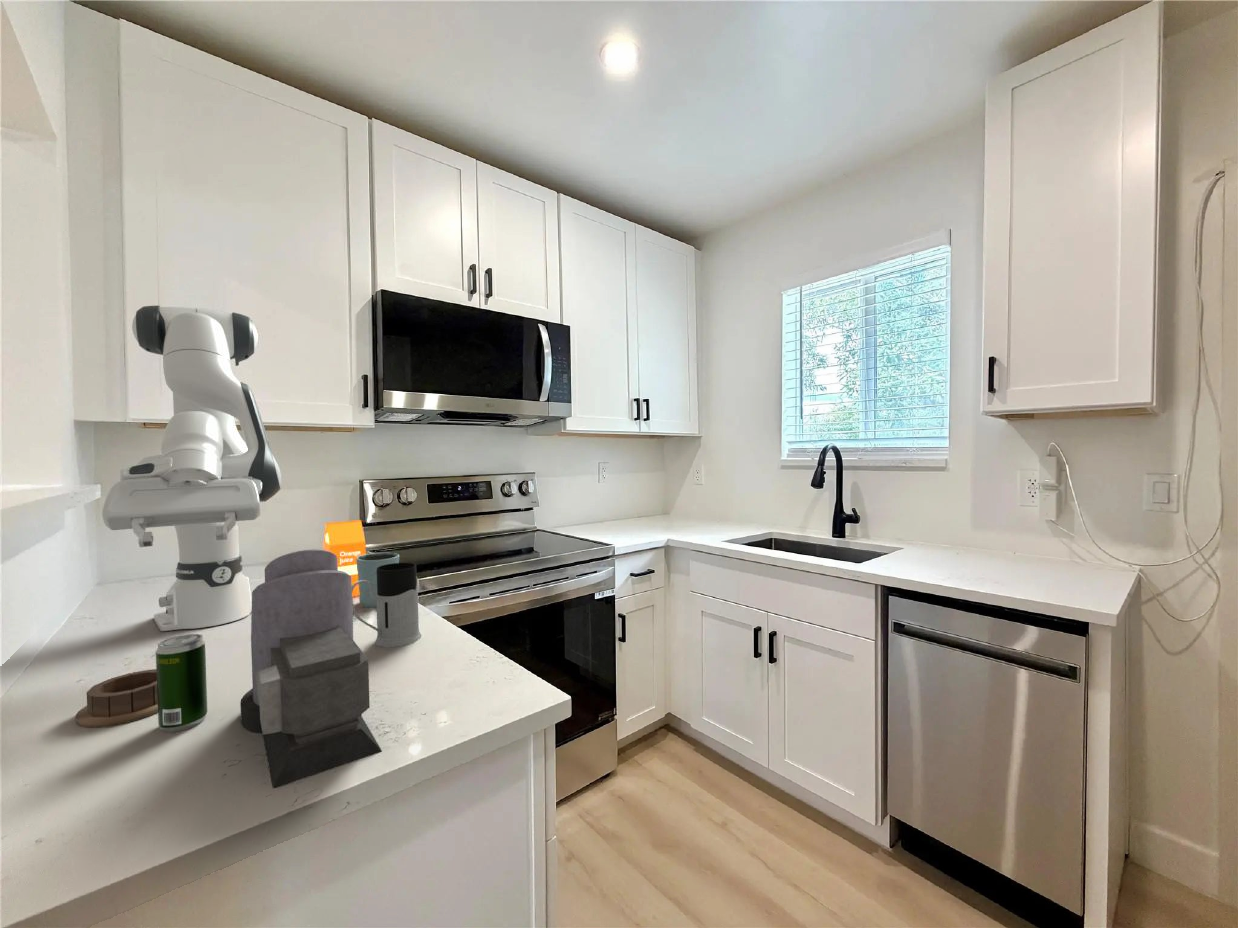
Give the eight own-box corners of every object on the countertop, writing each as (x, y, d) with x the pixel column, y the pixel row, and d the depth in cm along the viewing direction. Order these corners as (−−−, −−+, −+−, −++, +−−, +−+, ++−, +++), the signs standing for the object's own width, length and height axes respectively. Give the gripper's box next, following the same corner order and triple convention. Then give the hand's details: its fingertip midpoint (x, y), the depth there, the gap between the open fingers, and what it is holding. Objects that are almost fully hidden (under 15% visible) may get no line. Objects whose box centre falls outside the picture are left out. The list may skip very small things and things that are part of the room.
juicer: (238, 699, 82) (232, 544, 81) (351, 671, 92) (347, 533, 91) (249, 798, 58) (242, 580, 57) (400, 746, 68) (395, 559, 67)
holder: (430, 636, 108) (428, 564, 108) (364, 659, 97) (361, 579, 96) (405, 628, 113) (403, 560, 113) (339, 650, 102) (337, 573, 101)
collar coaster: (65, 713, 78) (64, 688, 78) (166, 682, 88) (166, 660, 88) (90, 735, 71) (89, 708, 71) (196, 699, 82) (196, 675, 82)
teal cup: (370, 596, 140) (369, 552, 139) (407, 596, 139) (406, 551, 139) (348, 608, 129) (347, 560, 129) (388, 608, 129) (387, 559, 129)
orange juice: (367, 594, 142) (365, 521, 141) (330, 600, 136) (328, 524, 136) (359, 588, 148) (357, 518, 147) (324, 594, 142) (322, 521, 142)
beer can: (199, 728, 73) (196, 643, 73) (151, 736, 71) (147, 649, 71) (213, 710, 78) (210, 631, 78) (168, 717, 76) (165, 636, 76)
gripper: (262, 488, 99) (263, 545, 91) (115, 494, 88) (102, 561, 80) (261, 464, 96) (262, 522, 87) (107, 468, 84) (92, 535, 76)
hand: (184, 541), depth 84 cm, fingers open, 8 cm apart
